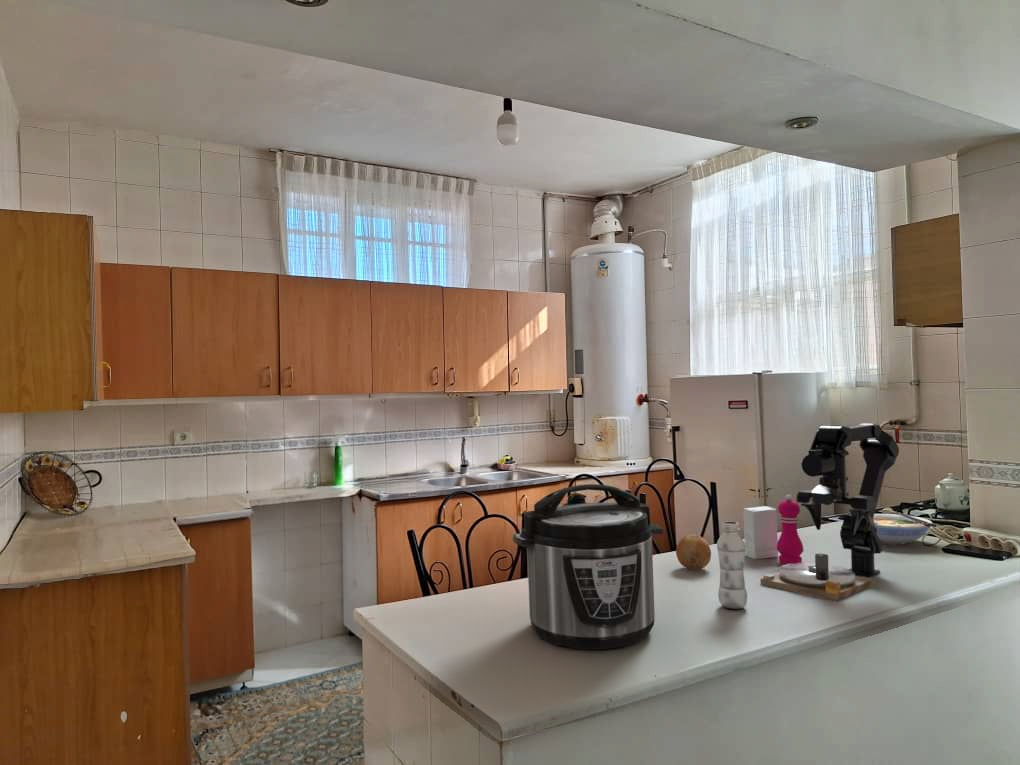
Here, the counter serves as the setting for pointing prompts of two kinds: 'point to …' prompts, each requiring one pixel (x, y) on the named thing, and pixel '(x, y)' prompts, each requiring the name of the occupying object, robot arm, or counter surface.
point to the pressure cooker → (590, 568)
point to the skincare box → (760, 532)
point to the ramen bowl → (900, 528)
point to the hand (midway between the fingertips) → (835, 532)
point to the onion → (693, 552)
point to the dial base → (830, 592)
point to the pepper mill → (789, 532)
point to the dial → (816, 573)
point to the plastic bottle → (731, 567)
